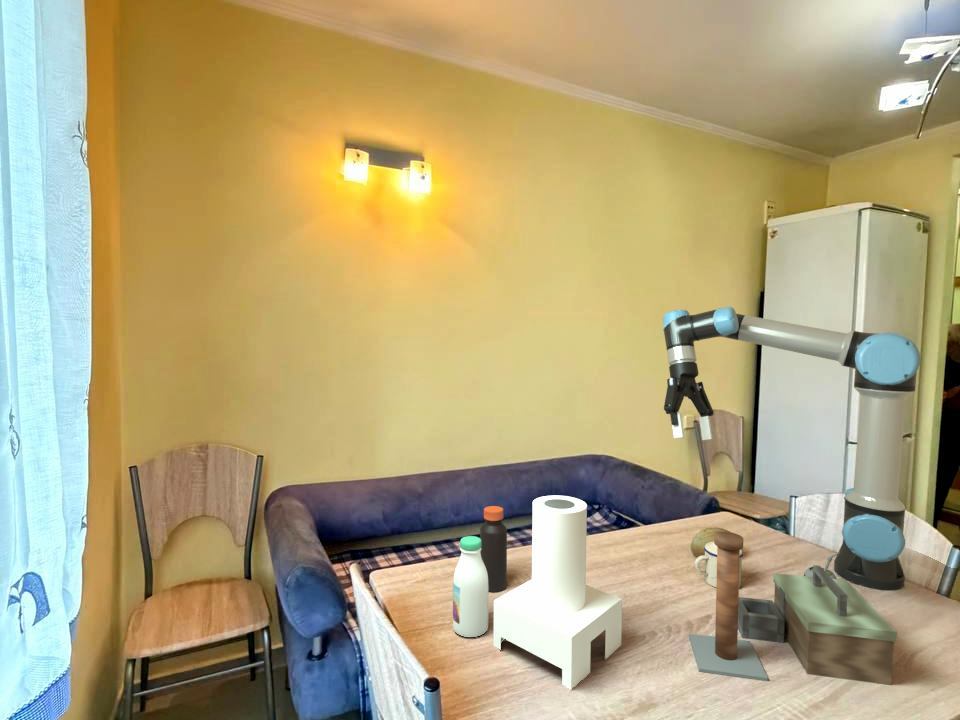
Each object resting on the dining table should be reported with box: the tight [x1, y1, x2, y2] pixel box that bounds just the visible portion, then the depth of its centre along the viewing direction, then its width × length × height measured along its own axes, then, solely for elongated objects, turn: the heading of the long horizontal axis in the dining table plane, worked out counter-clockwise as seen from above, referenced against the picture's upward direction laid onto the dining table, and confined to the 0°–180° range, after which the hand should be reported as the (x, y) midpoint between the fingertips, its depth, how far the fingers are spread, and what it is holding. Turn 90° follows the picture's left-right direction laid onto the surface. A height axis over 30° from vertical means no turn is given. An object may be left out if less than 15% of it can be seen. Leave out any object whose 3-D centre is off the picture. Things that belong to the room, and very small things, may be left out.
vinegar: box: [479, 505, 508, 593], centre depth 134 cm, size 7×7×20 cm
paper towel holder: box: [493, 494, 623, 691], centre depth 108 cm, size 19×19×30 cm
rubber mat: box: [688, 633, 769, 682], centre depth 106 cm, size 12×12×1 cm
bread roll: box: [690, 526, 733, 558], centre depth 153 cm, size 10×15×8 cm, turn 100°
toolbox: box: [738, 564, 898, 686], centre depth 109 cm, size 23×21×14 cm
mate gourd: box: [803, 552, 840, 579], centre depth 126 cm, size 8×8×15 cm
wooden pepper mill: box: [714, 531, 744, 660], centre depth 105 cm, size 5×5×24 cm
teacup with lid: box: [694, 541, 744, 588], centre depth 136 cm, size 12×9×12 cm
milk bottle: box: [452, 535, 489, 638], centre depth 115 cm, size 8×8×20 cm
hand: (693, 438), depth 145 cm, fingers open, 13 cm apart
